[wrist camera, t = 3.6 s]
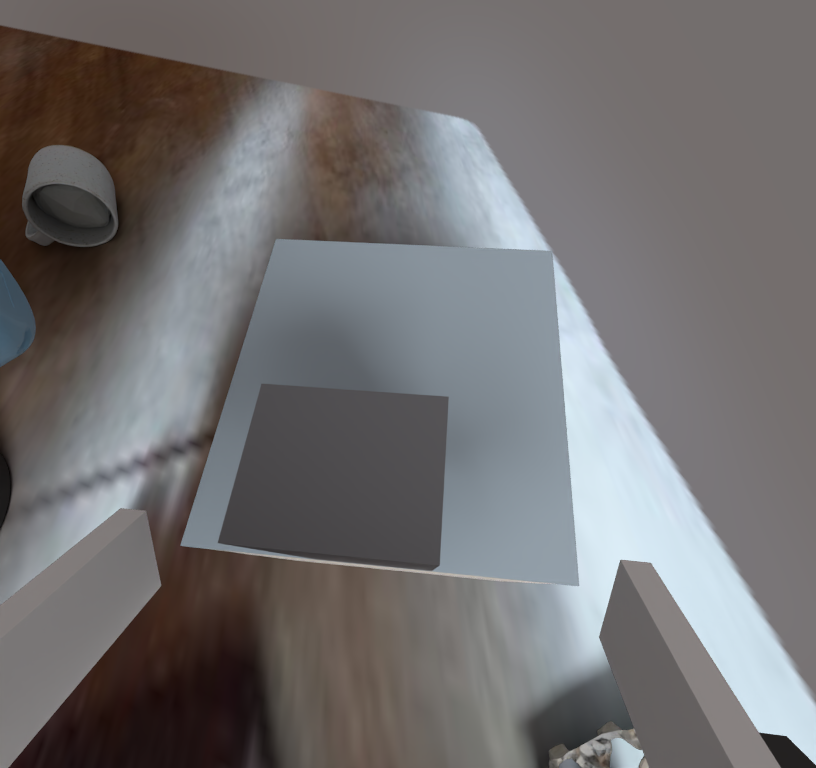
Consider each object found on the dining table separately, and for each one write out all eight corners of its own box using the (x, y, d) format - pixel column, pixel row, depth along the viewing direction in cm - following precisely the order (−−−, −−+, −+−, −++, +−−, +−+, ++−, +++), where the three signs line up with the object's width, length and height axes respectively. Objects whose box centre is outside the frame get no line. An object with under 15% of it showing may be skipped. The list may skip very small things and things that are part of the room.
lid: (572, 585, 17) (731, 594, 8) (189, 546, 18) (-27, 518, 10) (548, 260, 25) (617, 85, 16) (280, 248, 26) (206, 79, 17)
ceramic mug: (128, 189, 49) (77, 125, 42) (135, 235, 45) (81, 173, 38) (37, 217, 47) (-30, 156, 40) (37, 266, 44) (-36, 208, 37)
